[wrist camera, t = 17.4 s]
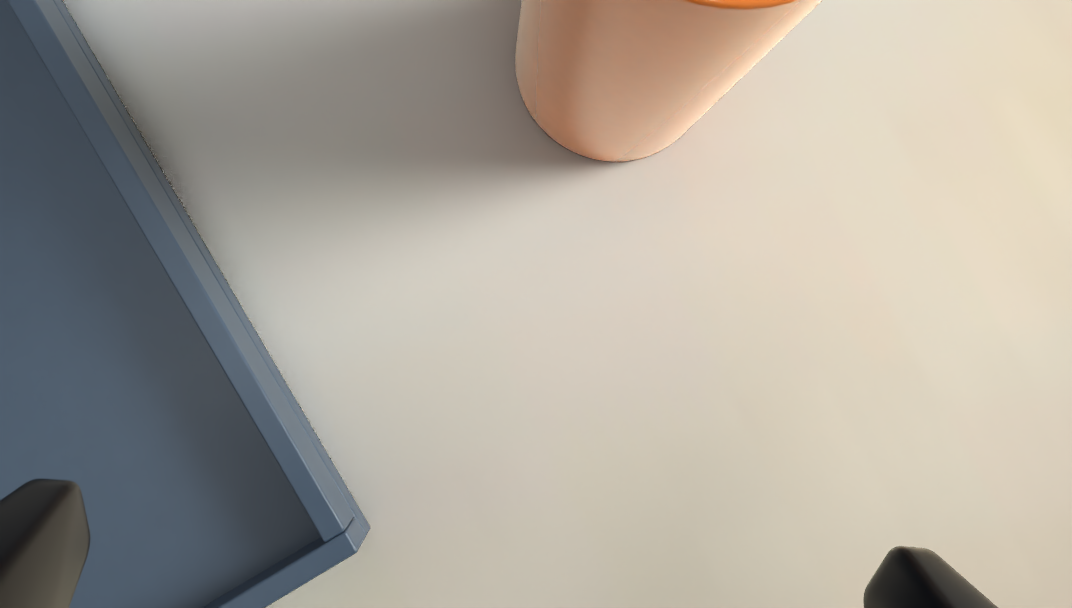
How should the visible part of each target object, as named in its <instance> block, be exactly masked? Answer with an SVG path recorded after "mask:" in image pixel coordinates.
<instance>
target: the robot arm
mask: <svg viewBox="0 0 1072 608" xmlns="http://www.w3.org/2000/svg"><path fill="white" fill-rule="evenodd" d="M90 537H91V535H90V529H89V524H88V519H87V515H86V510H85V505H84V501H83V496H82V492H81V489H80V487H79V485H78V484H77V483H76V482H73V481H70V480H57V479H45V478H37V479H33V480H31V481H28V482H26V483H25V484H23V485H21V486H20V487H19V488H17V489H16V490H14V491H13V492H11V493H10V494H9V495H7V496H6V497H4V498H3V499H1V500H0V608H69V606H70V604H71V601H72V598H73V595H74V592H75V590H76V587H77V584H78V581H79V579H80V576H81V573H82V570H83V567H84V565H85V562H86V559H87V556H88V552H89V548H90ZM864 608H998V607H997V606H995V605H994V604H993V603H992V602H991V601H990V600H989V599H987V598H986V597H985V596H984V595H983V594H982V593H981V592H979V591H978V590H977V589H976V588H975V587H974V586H972V585H971V584H970V583H969V582H968V581H967V580H966V579H964V578H963V577H962V576H961V575H960V574H959V573H958V572H956V571H955V570H954V569H953V568H952V567H951V566H950V565H948V564H947V563H946V562H945V561H944V560H943V559H942V558H940V557H939V556H938V555H937V554H935V553H934V552H933V551H931V550H928V549H925V548H916V547H904V546H898V547H895V548H893V549H891V550H890V551H889V552H888V554H887V555H886V557H885V558H884V560H883V562H882V563H881V565H880V566H879V568H878V569H877V571H876V573H875V574H874V576H873V577H872V579H871V580H870V582H869V583H868V585H867V587H866V589H865V593H864Z"/></svg>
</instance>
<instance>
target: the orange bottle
mask: <svg viewBox="0 0 1072 608" xmlns="http://www.w3.org/2000/svg"><path fill="white" fill-rule="evenodd" d="M821 1H822V0H522V3H521V11H520V19H519V27H518V35H517V43H516V50H515V70H516V78H517V82H518V86H519V90H520V93H521V96H522V98H523V101H524V103H525V105H526V107H527V109H528V110H529V112H530V114H531V116H532V117H533V118H534V120H535V121H536V122H537V124H538V125H539V126H540V127H541V128H542V129H543V130H544V131H545V132H546V133H547V134H548V135H549V136H550V137H551V138H552V139H554V140H555V141H556V142H557V143H559V144H560V145H562V146H564V147H565V148H567V149H569V150H570V151H573V152H575V153H577V154H579V155H582V156H585V157H588V158H592V159H596V160H602V161H615V162H621V161H631V160H636V159H640V158H644V157H647V156H650V155H652V154H655V153H658V152H659V151H661V150H663V149H665V148H667V147H668V146H670V145H671V144H672V143H674V142H675V141H676V140H678V139H679V138H680V137H681V136H682V135H683V134H684V133H685V132H686V131H687V130H688V129H689V128H690V127H691V126H693V125H694V124H695V123H696V122H697V121H698V120H699V119H700V118H701V117H702V116H703V115H704V114H705V113H706V112H707V111H708V110H709V109H710V108H711V107H712V106H713V105H714V104H715V103H716V102H717V101H718V100H720V99H721V98H722V97H723V96H724V95H725V94H726V93H727V92H728V91H729V90H730V89H731V88H732V87H733V86H734V85H735V84H736V83H737V82H738V81H739V80H740V79H741V78H742V77H743V76H744V75H745V74H747V73H748V72H749V71H750V70H751V69H752V68H753V67H754V66H755V65H756V64H757V63H758V62H759V61H760V60H761V59H762V58H763V57H764V56H765V55H766V54H767V53H768V52H769V51H770V50H771V49H772V48H774V47H775V46H776V45H777V44H778V43H779V42H780V41H781V40H782V39H783V38H784V37H785V36H786V35H787V34H788V33H789V32H790V31H791V30H792V29H793V28H794V27H795V26H796V25H797V24H798V23H799V22H801V21H802V20H803V19H804V18H805V17H806V16H807V15H808V14H809V13H810V12H811V11H812V10H813V9H814V8H815V7H816V6H817V5H818V4H819V3H820V2H821Z"/></svg>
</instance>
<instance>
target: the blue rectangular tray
mask: <svg viewBox="0 0 1072 608" xmlns="http://www.w3.org/2000/svg"><path fill="white" fill-rule="evenodd" d="M37 478H45V479H57V480H70V481H73V482H76V483H77V484H78V485H79V487H80V489H81V492H82V496H83V501H84V505H85V510H86V515H87V519H88V524H89V529H90V535H91V537H90V548H89V552H88V556H87V559H86V562H85V565H84V567H83V570H82V573H81V576H80V579H79V581H78V584H77V587H76V590H75V592H74V595H73V598H72V601H71V604H70V606H69V608H265V607H267V606H268V605H270V604H272V603H273V602H275V601H277V600H278V599H280V598H282V597H283V596H285V595H287V594H288V593H290V592H292V591H293V590H295V589H297V588H298V587H300V586H302V585H303V584H305V583H307V582H308V581H310V580H312V579H313V578H315V577H317V576H318V575H320V574H322V573H323V572H325V571H327V570H328V569H330V568H332V567H333V566H335V565H337V564H338V563H340V562H342V561H343V560H345V559H347V558H348V557H350V556H352V555H353V554H355V553H356V552H357V551H358V549H359V547H360V546H361V544H362V542H363V540H364V538H365V537H366V535H367V533H368V531H369V529H370V526H369V524H368V522H367V521H366V519H365V517H364V516H363V514H362V512H361V510H360V509H359V507H358V505H357V504H356V502H355V500H354V499H353V497H352V495H351V493H350V492H349V490H348V488H347V487H346V485H345V483H344V481H343V480H342V478H341V476H340V475H339V473H338V471H337V469H336V468H335V466H334V464H333V463H332V461H331V459H330V458H329V456H328V454H327V452H326V451H325V449H324V447H323V446H322V444H321V442H320V440H319V439H318V437H317V435H316V434H315V432H314V430H313V428H312V427H311V425H310V423H309V422H308V420H307V418H306V416H305V415H304V413H303V411H302V410H301V408H300V406H299V405H298V403H297V401H296V399H295V398H294V396H293V394H292V393H291V391H290V389H289V387H288V386H287V384H286V382H285V381H284V379H283V377H282V375H281V374H280V372H279V370H278V369H277V367H276V365H275V364H274V362H273V360H272V358H271V357H270V355H269V353H268V352H267V350H266V348H265V346H264V345H263V343H262V341H261V340H260V338H259V336H258V334H257V333H256V331H255V329H254V328H253V326H252V324H251V323H250V321H249V319H248V317H247V316H246V314H245V312H244V311H243V309H242V307H241V305H240V304H239V302H238V300H237V299H236V297H235V295H234V293H233V292H232V290H231V288H230V287H229V285H228V283H227V281H226V280H225V278H224V276H223V275H222V273H221V271H220V270H219V268H218V266H217V264H216V263H215V261H214V259H213V258H212V256H211V254H210V252H209V251H208V249H207V247H206V246H205V244H204V242H203V240H202V239H201V237H200V235H199V234H198V232H197V230H196V229H195V227H194V225H193V223H192V222H191V220H190V218H189V217H188V215H187V213H186V211H185V210H184V208H183V206H182V205H181V203H180V201H179V199H178V198H177V196H176V194H175V193H174V191H173V189H172V188H171V186H170V184H169V182H168V181H167V179H166V177H165V176H164V174H163V172H162V170H161V169H160V167H159V165H158V164H157V162H156V160H155V158H154V157H153V155H152V153H151V152H150V150H149V148H148V147H147V145H146V143H145V141H144V140H143V138H142V136H141V135H140V133H139V131H138V129H137V128H136V126H135V124H134V123H133V121H132V119H131V117H130V116H129V114H128V112H127V111H126V109H125V107H124V105H123V104H122V102H121V100H120V99H119V97H118V95H117V94H116V92H115V90H114V88H113V87H112V85H111V83H110V82H109V80H108V78H107V76H106V75H105V73H104V71H103V70H102V68H101V66H100V64H99V63H98V61H97V59H96V58H95V56H94V54H93V53H92V51H91V49H90V47H89V46H88V44H87V42H86V41H85V39H84V37H83V35H82V34H81V32H80V30H79V29H78V27H77V25H76V23H75V22H74V20H73V18H72V17H71V15H70V13H69V12H68V10H67V8H66V6H65V5H64V3H63V1H62V0H0V500H1V499H3V498H4V497H6V496H7V495H9V494H10V493H11V492H13V491H14V490H16V489H17V488H19V487H20V486H21V485H23V484H25V483H26V482H28V481H31V480H33V479H37Z"/></svg>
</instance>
